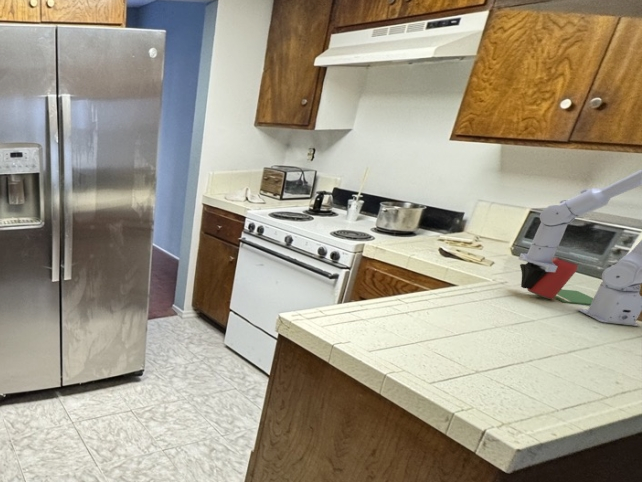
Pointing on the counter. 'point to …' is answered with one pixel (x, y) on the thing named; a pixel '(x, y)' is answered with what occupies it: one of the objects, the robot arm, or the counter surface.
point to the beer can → (554, 278)
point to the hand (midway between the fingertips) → (526, 287)
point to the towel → (573, 297)
